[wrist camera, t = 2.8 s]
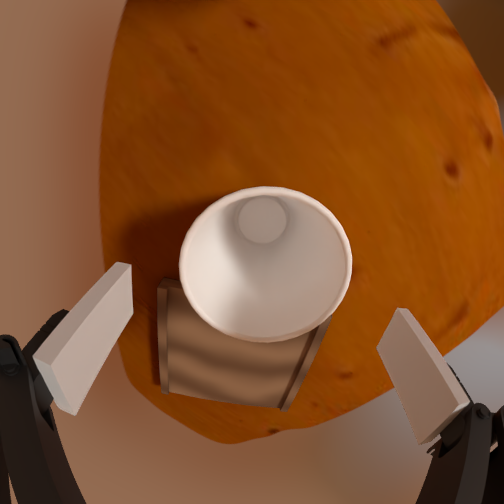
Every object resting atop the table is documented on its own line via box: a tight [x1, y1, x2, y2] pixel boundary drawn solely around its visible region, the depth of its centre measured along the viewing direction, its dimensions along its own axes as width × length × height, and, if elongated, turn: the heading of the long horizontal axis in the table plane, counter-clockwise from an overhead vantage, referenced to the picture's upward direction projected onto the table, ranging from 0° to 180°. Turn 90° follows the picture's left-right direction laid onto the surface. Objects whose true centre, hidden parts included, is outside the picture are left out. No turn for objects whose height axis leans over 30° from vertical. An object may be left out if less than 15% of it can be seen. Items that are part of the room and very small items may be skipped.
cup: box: [179, 186, 352, 343], centre depth 20 cm, size 10×10×11 cm
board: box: [157, 278, 332, 412], centre depth 31 cm, size 18×18×2 cm
